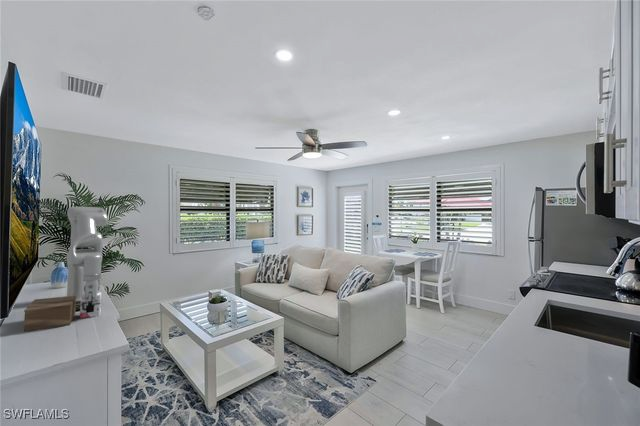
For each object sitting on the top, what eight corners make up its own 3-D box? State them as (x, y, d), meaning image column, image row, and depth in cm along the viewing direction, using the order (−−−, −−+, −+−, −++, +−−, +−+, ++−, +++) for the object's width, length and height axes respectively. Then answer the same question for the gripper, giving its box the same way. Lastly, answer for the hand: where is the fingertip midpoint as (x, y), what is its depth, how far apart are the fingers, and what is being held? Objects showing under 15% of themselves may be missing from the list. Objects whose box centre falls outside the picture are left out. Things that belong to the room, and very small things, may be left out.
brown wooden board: (34, 301, 144) (34, 299, 144) (76, 297, 153) (76, 295, 153) (24, 312, 129) (24, 310, 129) (71, 306, 139) (71, 304, 139)
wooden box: (34, 319, 144) (35, 301, 144) (75, 313, 153) (76, 297, 153) (23, 331, 129) (24, 312, 129) (69, 325, 138) (70, 307, 139)
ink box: (79, 318, 147) (80, 296, 147) (80, 315, 151) (81, 293, 151) (99, 315, 152) (100, 294, 152) (100, 312, 156) (101, 291, 156)
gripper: (99, 279, 147) (97, 314, 147) (101, 273, 161) (100, 305, 161) (80, 281, 142) (79, 316, 142) (85, 274, 157) (83, 307, 156)
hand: (90, 310), depth 152 cm, fingers closed on ink box, 5 cm apart
